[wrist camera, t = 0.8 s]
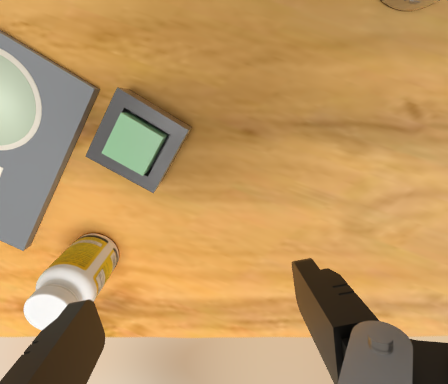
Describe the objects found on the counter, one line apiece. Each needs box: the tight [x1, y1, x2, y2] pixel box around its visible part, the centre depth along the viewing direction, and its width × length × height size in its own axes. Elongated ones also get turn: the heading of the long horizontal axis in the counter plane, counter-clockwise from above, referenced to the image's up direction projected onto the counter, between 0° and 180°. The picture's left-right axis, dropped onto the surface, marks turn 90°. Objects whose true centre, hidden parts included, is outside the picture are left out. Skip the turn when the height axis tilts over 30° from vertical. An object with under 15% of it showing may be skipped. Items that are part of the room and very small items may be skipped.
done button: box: [102, 112, 168, 176], centre depth 24 cm, size 4×4×2 cm
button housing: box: [86, 87, 192, 193], centre depth 26 cm, size 7×7×4 cm
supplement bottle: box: [24, 233, 119, 330], centre depth 27 cm, size 5×5×10 cm
